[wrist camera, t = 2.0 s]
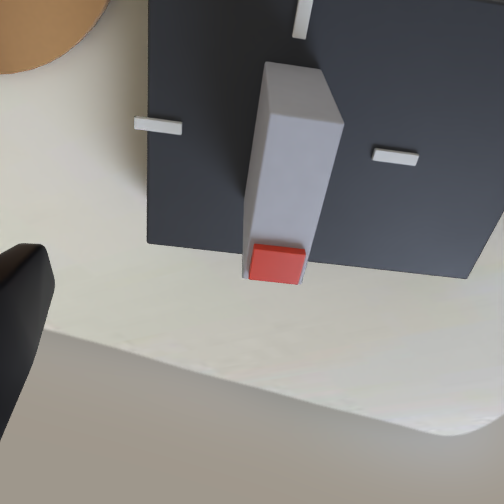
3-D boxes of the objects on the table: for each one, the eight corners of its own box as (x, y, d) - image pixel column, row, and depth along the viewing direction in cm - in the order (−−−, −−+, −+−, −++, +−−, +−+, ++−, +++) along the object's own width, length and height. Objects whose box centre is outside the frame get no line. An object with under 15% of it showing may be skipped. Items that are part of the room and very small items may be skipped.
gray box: (264, 60, 13) (269, 116, 9) (321, 69, 13) (347, 127, 9) (243, 201, 15) (241, 284, 12) (291, 207, 16) (302, 291, 12)
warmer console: (558, 3, 14) (613, 21, 12) (445, 241, 20) (469, 282, 17) (151, -65, 13) (131, -59, 11) (148, 206, 18) (135, 246, 16)
